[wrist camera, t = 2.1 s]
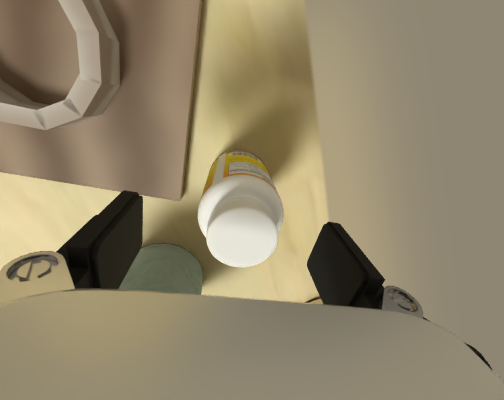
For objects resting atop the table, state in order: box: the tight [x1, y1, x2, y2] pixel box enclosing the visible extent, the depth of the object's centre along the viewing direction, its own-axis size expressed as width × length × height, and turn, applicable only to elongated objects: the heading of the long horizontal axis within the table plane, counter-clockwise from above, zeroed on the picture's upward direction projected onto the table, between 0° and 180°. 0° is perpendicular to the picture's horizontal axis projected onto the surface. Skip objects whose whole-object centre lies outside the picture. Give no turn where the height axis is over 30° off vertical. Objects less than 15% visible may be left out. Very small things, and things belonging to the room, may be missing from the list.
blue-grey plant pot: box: [119, 244, 203, 295], centre depth 20 cm, size 10×10×12 cm
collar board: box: [0, 0, 203, 201], centre depth 14 cm, size 20×20×4 cm
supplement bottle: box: [198, 150, 284, 267], centre depth 16 cm, size 6×6×10 cm
